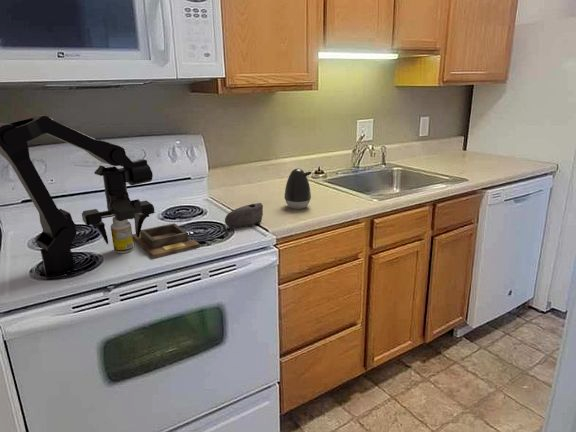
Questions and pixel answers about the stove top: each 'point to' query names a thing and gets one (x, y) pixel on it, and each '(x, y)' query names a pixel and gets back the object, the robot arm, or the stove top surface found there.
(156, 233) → the holder board
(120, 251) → the supplement bottle
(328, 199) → the stove top surface
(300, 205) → the pump dispenser
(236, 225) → the perforated stone tool
